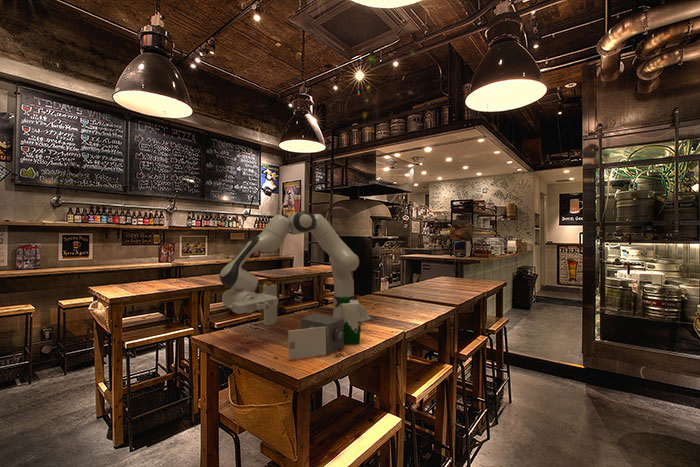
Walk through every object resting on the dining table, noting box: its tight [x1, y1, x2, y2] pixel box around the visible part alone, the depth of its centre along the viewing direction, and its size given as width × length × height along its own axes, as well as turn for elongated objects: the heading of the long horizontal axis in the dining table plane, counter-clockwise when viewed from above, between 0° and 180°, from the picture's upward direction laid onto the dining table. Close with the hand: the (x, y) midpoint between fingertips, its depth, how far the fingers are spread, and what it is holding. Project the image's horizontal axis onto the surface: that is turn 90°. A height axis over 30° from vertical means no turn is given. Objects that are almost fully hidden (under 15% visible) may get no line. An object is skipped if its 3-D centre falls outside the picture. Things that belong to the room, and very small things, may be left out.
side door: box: [287, 326, 330, 361], centre depth 123 cm, size 16×1×11 cm, turn 109°
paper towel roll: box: [262, 283, 278, 326], centre depth 169 cm, size 7×6×21 cm
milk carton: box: [340, 297, 362, 346], centre depth 140 cm, size 9×9×20 cm
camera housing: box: [300, 313, 345, 355], centre depth 134 cm, size 18×10×12 cm, turn 52°
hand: (267, 306), depth 130 cm, fingers closed
